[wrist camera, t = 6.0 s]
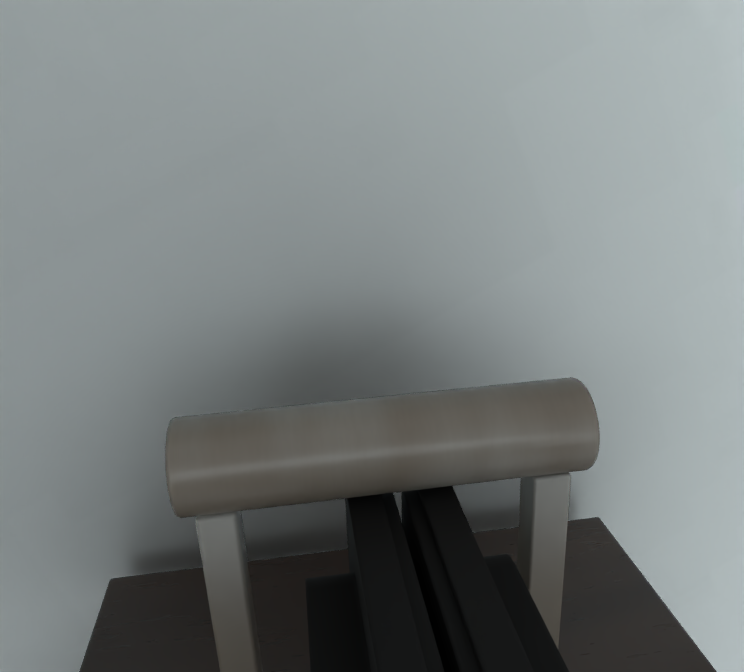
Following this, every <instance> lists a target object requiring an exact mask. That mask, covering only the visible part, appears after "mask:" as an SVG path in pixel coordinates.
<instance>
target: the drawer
mask: <svg viewBox="0 0 744 672" xmlns="http://www.w3.org/2000/svg"><path fill="white" fill-rule="evenodd" d="M598 451H599V424H598V418H597V413H596V409H595V406H594V403H593V400H592V398H591V396H590V393H589V392H588V390H587V388H586V387H585V385H584V384H583V383H582V382H581V381H579V380H578V379H575V378H571V377H570V378H561V379H551V380H541V381H531V382H521V383H511V384H501V385H491V386H481V387H471V388H461V389H452V390H442V391H432V392H422V393H412V394H402V395H392V396H382V397H372V398H362V399H352V400H343V401H333V402H323V403H313V404H303V405H293V406H283V407H273V408H263V409H253V410H243V411H234V412H224V413H214V414H204V415H194V416H184V417H175V418H173V419H172V420H171V421H170V423H169V426H168V430H167V435H166V444H165V468H166V480H167V488H168V494H169V499H170V503H171V506H172V509H173V511H174V513H175V515H176V516H177V517H180V518H184V517H192V516H196V520H195V523H196V529H197V535H198V541H199V547H200V553H201V559H202V565H203V567H200V568H192V569H184V570H176V571H169V572H161V573H153V574H145V575H137V576H129V577H121V578H113V579H111V580H110V581H109V584H108V587H107V590H106V593H105V596H104V599H103V602H102V605H101V608H100V611H99V614H98V617H97V620H96V623H95V626H94V629H93V632H92V635H91V638H90V641H89V644H88V647H87V650H86V653H85V656H84V659H83V662H82V665H81V668H80V671H79V672H311V671H310V654H309V636H308V619H307V602H306V584H305V578H312V577H321V576H329V575H337V574H345V573H350V572H349V554H348V549H342V550H334V551H326V552H318V553H310V554H303V555H295V556H287V557H279V558H271V559H263V560H255V561H248V558H247V551H246V544H245V536H244V529H243V521H242V514H241V511H243V510H251V509H260V508H268V507H277V506H285V505H294V504H302V503H311V502H319V501H328V500H336V499H345V498H353V497H362V496H370V495H378V494H387V493H395V492H404V491H412V490H421V489H429V488H438V487H446V486H455V485H463V484H472V483H480V482H489V481H497V480H506V479H514V478H521V484H520V508H519V527H515V528H507V529H500V530H492V531H484V532H476V533H473V535H474V537H475V539H476V542H477V544H478V546H479V548H480V551H481V553H482V555H483V557H486V556H494V555H502V554H507V555H509V556H510V557H511V558H512V560H513V561H514V563H515V565H516V567H517V569H518V571H519V573H520V575H521V577H522V579H523V581H524V583H525V585H526V587H527V589H528V590H529V592H530V594H531V596H532V598H533V600H534V602H535V604H536V606H537V608H538V610H539V612H540V614H541V616H542V618H543V620H544V622H545V624H546V626H547V628H548V630H549V632H550V634H551V636H552V638H553V640H554V642H555V644H556V646H557V648H558V650H559V652H560V654H561V656H562V658H563V660H564V662H565V664H566V666H567V668H568V670H569V672H716V670H715V669H714V668H713V666H712V665H711V664H710V662H709V661H708V660H707V658H706V657H705V656H704V655H703V653H702V652H701V651H700V649H699V648H698V647H697V645H696V644H695V643H694V641H693V640H692V639H691V637H690V636H689V635H688V634H687V632H686V631H685V630H684V628H683V627H682V626H681V624H680V623H679V622H678V620H677V619H676V618H675V617H674V615H673V614H672V613H671V611H670V610H669V609H668V607H667V606H666V605H665V603H664V602H663V601H662V599H661V598H660V597H659V596H658V594H657V593H656V592H655V590H654V589H653V588H652V586H651V585H650V584H649V582H648V581H647V580H646V578H645V577H644V576H643V575H642V573H641V572H640V571H639V569H638V568H637V567H636V565H635V564H634V563H633V561H632V560H631V559H630V558H629V556H628V555H627V554H626V552H625V551H624V550H623V548H622V547H621V546H620V544H619V543H618V542H617V540H616V539H615V538H614V537H613V535H612V534H611V533H610V531H609V530H608V529H607V527H606V526H605V525H604V523H603V522H602V521H601V520H600V518H598V517H594V518H586V519H578V520H570V521H568V510H569V496H570V483H571V475H570V473H569V472H573V471H582V470H587V469H589V468H590V467H592V466H593V464H594V463H595V461H596V459H597V455H598Z"/></svg>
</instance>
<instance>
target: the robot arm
mask: <svg viewBox="0 0 744 672" xmlns="http://www.w3.org/2000/svg"><path fill="white" fill-rule="evenodd" d="M401 500H402V522H401V519H400V515H399V512H398V508H397V505H396V501H395V498H394V495H393V493H387V494H378V495H370V496H362V497H353V498H345V502H346V520H347V537H348V554H349V572H350V573H345V574H337V575H329V576H321V577H312V578H305V584H306V602H307V619H308V636H309V654H310V671H311V672H569V670H568V668H567V666H566V664H565V662H564V660H563V658H562V656H561V654H560V652H559V650H558V648H557V646H556V644H555V642H554V640H553V638H552V636H551V634H550V632H549V630H548V628H547V626H546V624H545V622H544V620H543V618H542V616H541V614H540V612H539V610H538V608H537V606H536V604H535V602H534V600H533V598H532V596H531V594H530V592H529V590H528V589H527V587H526V585H525V583H524V581H523V579H522V577H521V575H520V573H519V571H518V569H517V567H516V565H515V563H514V561H513V560H512V558H511V557H510V556H509V555H507V554H502V555H494V556H486V557H483V555H482V553H481V551H480V548H479V546H478V544H477V542H476V539H475V537H474V535H473V532H472V530H471V528H470V526H469V523H468V521H467V519H466V517H465V514H464V512H463V510H462V508H461V505H460V503H459V501H458V499H457V496H456V494H455V492H454V489H453V487H452V486H446V487H438V488H429V489H421V490H412V491H404V492H402V499H401Z"/></svg>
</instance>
